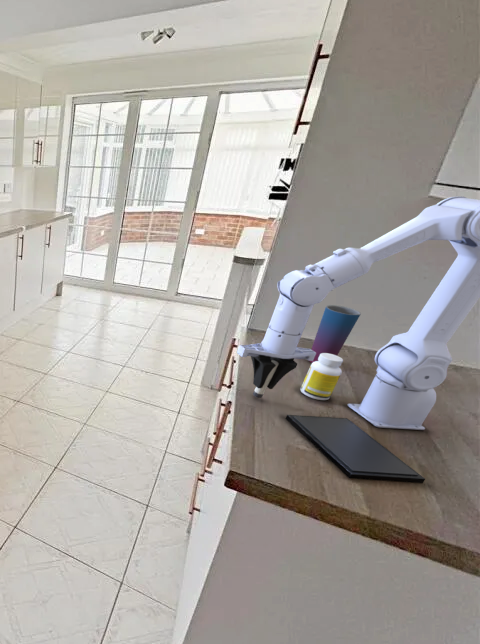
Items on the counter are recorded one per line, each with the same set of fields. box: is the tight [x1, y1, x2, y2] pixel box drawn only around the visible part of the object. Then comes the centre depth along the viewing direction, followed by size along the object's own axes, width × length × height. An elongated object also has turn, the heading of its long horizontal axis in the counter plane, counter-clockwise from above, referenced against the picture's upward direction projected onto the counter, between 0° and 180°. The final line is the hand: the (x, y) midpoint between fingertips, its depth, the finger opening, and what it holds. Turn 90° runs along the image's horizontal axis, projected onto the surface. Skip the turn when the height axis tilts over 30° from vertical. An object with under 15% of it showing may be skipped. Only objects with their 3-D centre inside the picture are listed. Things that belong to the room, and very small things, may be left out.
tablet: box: [285, 414, 426, 484], centre depth 77 cm, size 12×17×1 cm
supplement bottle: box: [300, 353, 344, 401], centre depth 92 cm, size 5×5×10 cm
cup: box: [309, 304, 362, 364], centre depth 106 cm, size 7×7×15 cm
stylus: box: [252, 360, 279, 399], centre depth 89 cm, size 2×2×9 cm
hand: (262, 386), depth 89 cm, fingers closed on stylus, 2 cm apart
